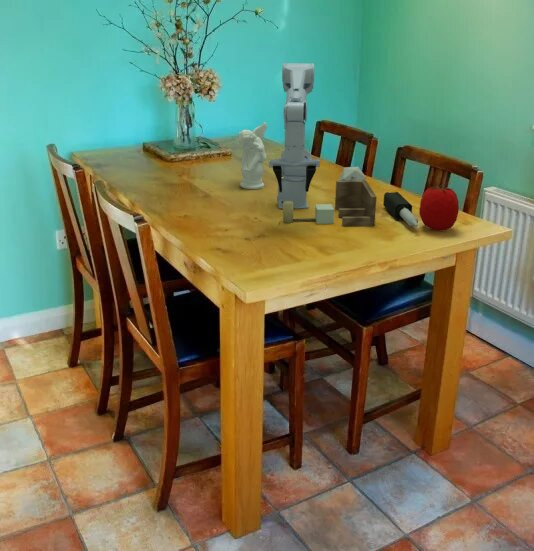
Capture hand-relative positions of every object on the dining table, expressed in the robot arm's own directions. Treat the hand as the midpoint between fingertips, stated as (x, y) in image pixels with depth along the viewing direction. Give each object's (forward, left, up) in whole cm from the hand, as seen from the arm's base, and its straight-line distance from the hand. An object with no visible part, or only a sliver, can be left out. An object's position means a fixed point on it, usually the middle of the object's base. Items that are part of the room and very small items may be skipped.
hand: (293, 191), depth 202 cm
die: (+23, +36, -11) cm, 44 cm away
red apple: (+42, -5, -11) cm, 44 cm away
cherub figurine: (-12, +43, -11) cm, 46 cm away
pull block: (+5, +3, -10) cm, 12 cm away
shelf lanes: (+19, +7, -10) cm, 22 cm away
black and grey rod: (+33, +16, -8) cm, 37 cm away
